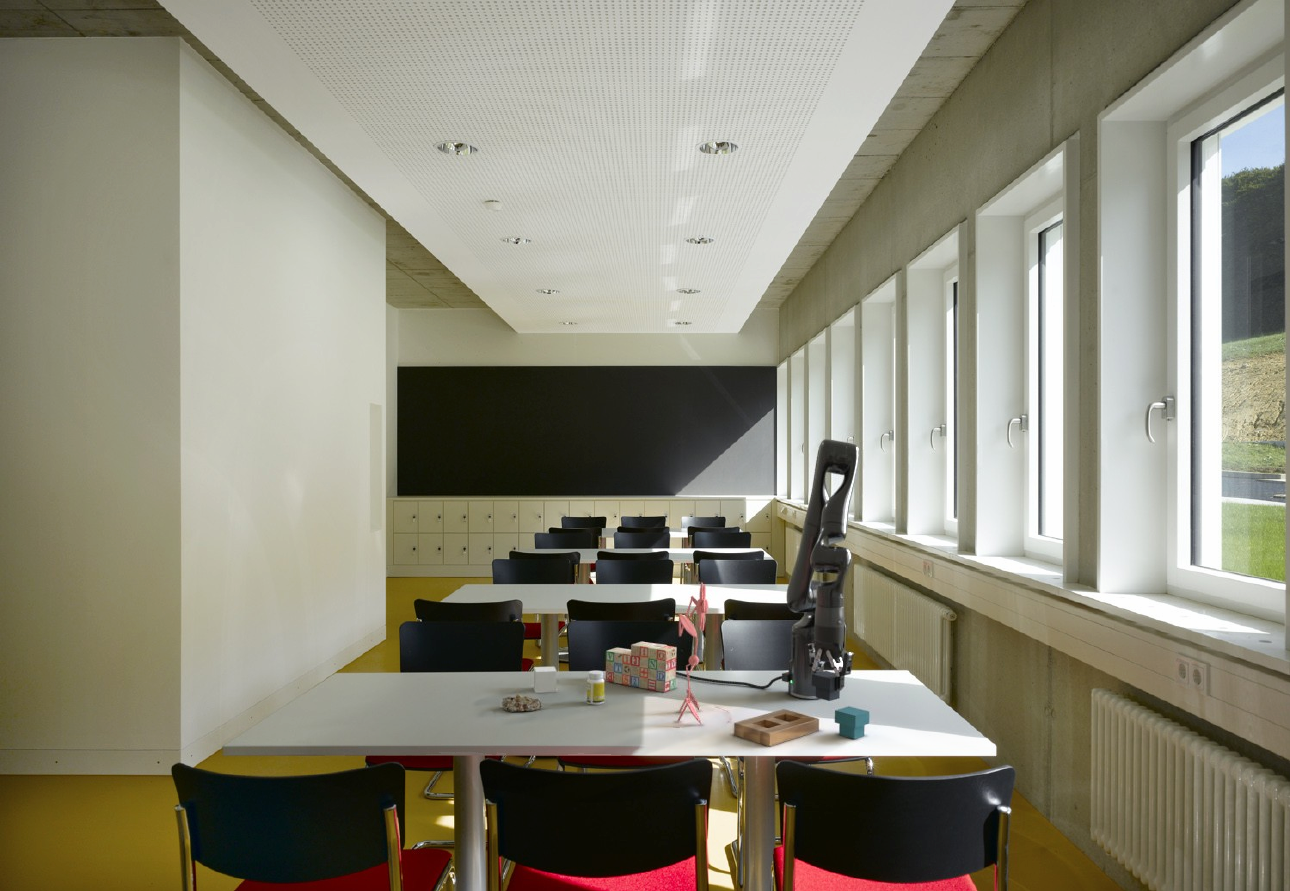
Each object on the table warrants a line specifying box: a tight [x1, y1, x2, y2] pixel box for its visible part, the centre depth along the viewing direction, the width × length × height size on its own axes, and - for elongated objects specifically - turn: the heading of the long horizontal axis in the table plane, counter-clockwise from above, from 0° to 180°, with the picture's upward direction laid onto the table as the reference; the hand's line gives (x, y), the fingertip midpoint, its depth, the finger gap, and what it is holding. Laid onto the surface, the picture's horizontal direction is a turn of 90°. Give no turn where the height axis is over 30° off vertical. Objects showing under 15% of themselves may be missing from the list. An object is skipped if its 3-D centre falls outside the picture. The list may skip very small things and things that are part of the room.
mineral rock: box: [501, 693, 543, 713], centre depth 231 cm, size 11×4×8 cm
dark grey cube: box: [811, 670, 846, 702], centre depth 224 cm, size 6×6×6 cm
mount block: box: [733, 708, 820, 747], centre depth 214 cm, size 11×19×3 cm, turn 133°
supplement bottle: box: [586, 670, 605, 706], centre depth 238 cm, size 5×5×8 cm
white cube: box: [533, 666, 558, 694], centre depth 251 cm, size 6×6×6 cm
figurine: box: [674, 582, 732, 729], centre depth 226 cm, size 15×26×35 cm, turn 175°
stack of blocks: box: [605, 641, 677, 693], centre depth 259 cm, size 21×6×12 cm, turn 58°
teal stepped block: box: [834, 705, 870, 740], centre depth 213 cm, size 6×6×6 cm
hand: (827, 687), depth 224 cm, fingers closed on dark grey cube, 6 cm apart
